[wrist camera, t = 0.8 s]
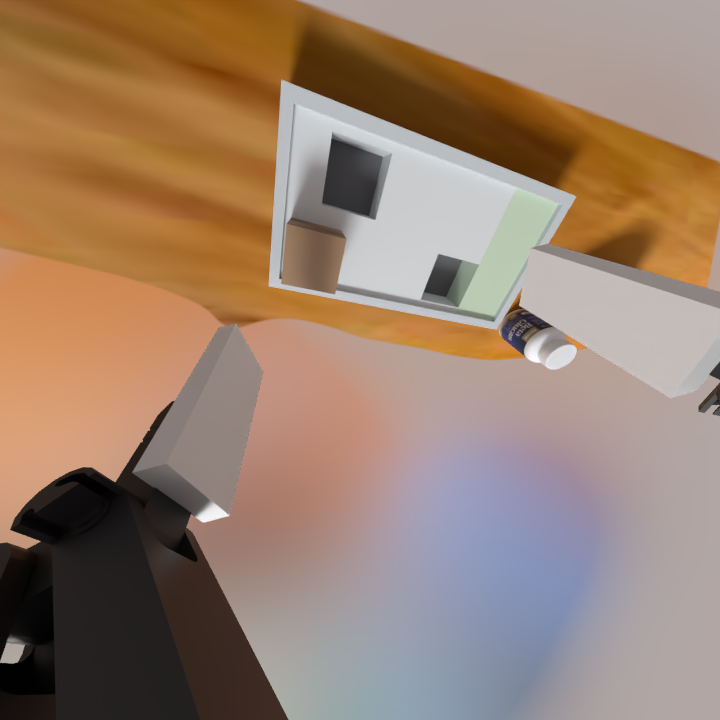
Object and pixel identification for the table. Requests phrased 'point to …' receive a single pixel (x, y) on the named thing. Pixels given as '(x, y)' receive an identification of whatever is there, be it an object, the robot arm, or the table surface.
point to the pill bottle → (536, 339)
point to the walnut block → (312, 256)
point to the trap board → (407, 213)
